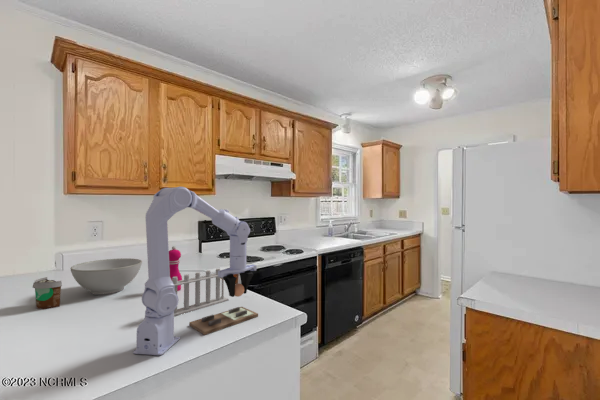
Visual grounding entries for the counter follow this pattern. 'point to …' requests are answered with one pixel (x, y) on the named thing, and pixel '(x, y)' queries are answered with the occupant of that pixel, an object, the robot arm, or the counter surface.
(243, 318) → the cradle board
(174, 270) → the pepper mill
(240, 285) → the terracotta ball
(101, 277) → the decorative bowl
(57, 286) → the food container
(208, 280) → the test tube rack
